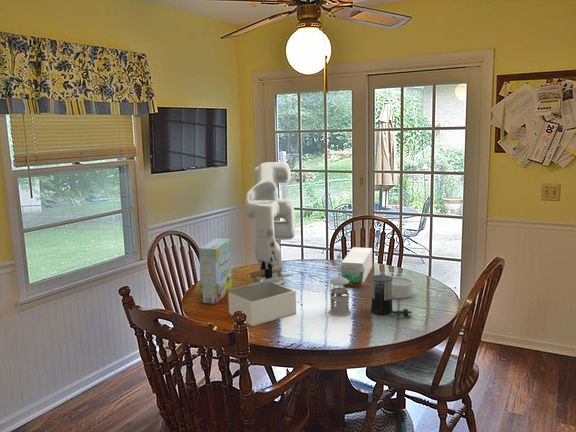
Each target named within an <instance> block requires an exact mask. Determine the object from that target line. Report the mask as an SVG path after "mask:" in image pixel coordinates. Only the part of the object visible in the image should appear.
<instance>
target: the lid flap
mask: <svg viewBox="0 0 576 432" xmlns="http://www.w3.org/2000/svg"><path fill="white" fill-rule="evenodd" d="M281 271H283V268H282V265H281V266H277V267H273V268H272V273H278V278H274V279H270V280H266V281H261V282H260V281H258V278H259V277H261V276H264V275H265V269H264V270H261V269H260V270H255V271H251V272H250V274H249V275H250V277H251V278H252V279H253V283H249V284H247V285H241V286H238V287H232V289H229V290H228V291H233V290H237V289H241V288H245V287H249V286H253V285H257V284H260V283H264V282H268V281H272V280H276V279H280V278H284V279H285V278H288V277H292V276H294V274H293V273H291V274H290V273H289V274H290V275H286V276H282V275H281Z"/></svg>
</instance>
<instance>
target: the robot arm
mask: <svg viewBox="0 0 576 432" xmlns="http://www.w3.org/2000/svg"><path fill="white" fill-rule="evenodd" d="M291 174H292V172H291V168H290V165H289V164H288V163H287V162H286V161H268V162H267V161H266V162H263V163H260V164H259V165H258V166H256V167H255V168H254V169H253V175H254V179H255V182H256V184H255V185H254V186H253V187H251V188H250V189H249V190H248V191H247V193H246V196H245V198H244V199H245V201H244V214H245V216H246V217H247V218H249V219H254V220H255V221H254V226H255V245H254V252H255V253H254V254H255V258H256V261H258V263H259V268H260V270H264V269H265V275H264V276H260V277H261V279H260V280H259V282H261V281H266V280H270V279H274V278H278V273H272V268H273V267H277V266H281V267H282V249H281V246H280V244H279V243H278V242H277V241H288V240H289V241H290V240H293V239H294V238H295V231H296V227H295V225H296V224H295V207H294V202H293V200H291V199H290V198H280V197H279V188H278V187H277V184H287V183H289V182H290V180H291ZM274 219H283V220H274ZM282 271H283V270H282ZM282 271H281V275H282V276H286V275H290V272H288V271H287V272H282ZM268 282H270V281H268ZM272 282H275V283H277V284H280V285H282V286H283V285H284V284H285V282H286V280H285V277H284V278H280V279H276V280H272ZM264 283H266V282H264ZM260 284H261V283H260Z"/></svg>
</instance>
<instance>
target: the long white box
mask: <svg viewBox="0 0 576 432" xmlns="http://www.w3.org/2000/svg"><path fill="white" fill-rule="evenodd" d="M341 265H342V266H344V267H351V266H352V267H357V268H362V267H364V268H365V271H364V272H363V281H362V285H363V284H364V282H365V281H366V279H367V278H368V275H369V274H370V271H371V270H372V268H373V247H357V246H356V247H354V246H353V247H352V248H351V249H350V251H349V252H348V253H347V254H346V255H345V257H344V259H342V261H341V262H340V266H341ZM340 271H341V270H340ZM340 273H341V274H340V277H342V271H341V272H340Z"/></svg>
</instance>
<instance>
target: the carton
mask: <svg viewBox="0 0 576 432" xmlns="http://www.w3.org/2000/svg"><path fill="white" fill-rule="evenodd" d="M227 295H228V298H227V299H228V314H229V315H230V316H232V315H233V313H234V312H236V311H242V312H244V313H246V315H247V319H246V323H245V324H246V325H248V326H250V327H252V328H253V327H257V326H259V325H263V324H265V323H270V322H272V321H276V320H279V319H280V320H281V319H283V318H287V317H290V316H294V315H296V314H297V297H296V296H297V294H296V290H294V289H291V288H290V287H287V286H285V285H283V284H282V285H280V284H277V283H275V282H272V281H270V282H266V283H261V284H256V285H252V286H248V287H244V288H240V289H235V290H231V291H229V292H228V293H227Z"/></svg>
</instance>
